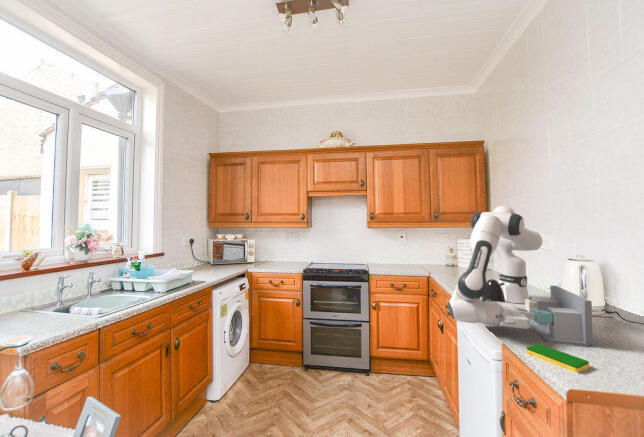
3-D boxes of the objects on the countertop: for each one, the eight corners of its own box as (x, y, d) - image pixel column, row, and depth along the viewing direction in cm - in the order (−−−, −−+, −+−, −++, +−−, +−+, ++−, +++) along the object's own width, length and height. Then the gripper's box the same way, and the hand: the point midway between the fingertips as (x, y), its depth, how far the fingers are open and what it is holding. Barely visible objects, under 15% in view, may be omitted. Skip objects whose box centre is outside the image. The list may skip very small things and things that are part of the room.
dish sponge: (577, 374, 80) (576, 366, 80) (525, 354, 92) (525, 347, 92) (589, 369, 83) (589, 361, 83) (538, 350, 95) (538, 343, 95)
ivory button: (529, 312, 116) (529, 301, 116) (525, 308, 120) (525, 298, 120) (552, 313, 113) (552, 303, 113) (547, 310, 117) (547, 300, 118)
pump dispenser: (500, 314, 130) (500, 282, 130) (478, 309, 138) (477, 279, 139) (509, 310, 136) (508, 279, 136) (487, 305, 145) (486, 276, 145)
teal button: (537, 323, 103) (537, 311, 103) (532, 319, 107) (532, 308, 107) (563, 325, 101) (563, 313, 101) (557, 321, 105) (557, 309, 105)
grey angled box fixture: (548, 342, 100) (547, 299, 100) (522, 319, 123) (521, 284, 123) (596, 347, 96) (595, 301, 96) (559, 322, 118) (558, 285, 119)
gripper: (501, 313, 100) (546, 317, 96) (485, 298, 119) (522, 300, 115) (501, 331, 100) (546, 335, 95) (486, 312, 119) (523, 315, 115)
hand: (533, 316), depth 105 cm, fingers closed
